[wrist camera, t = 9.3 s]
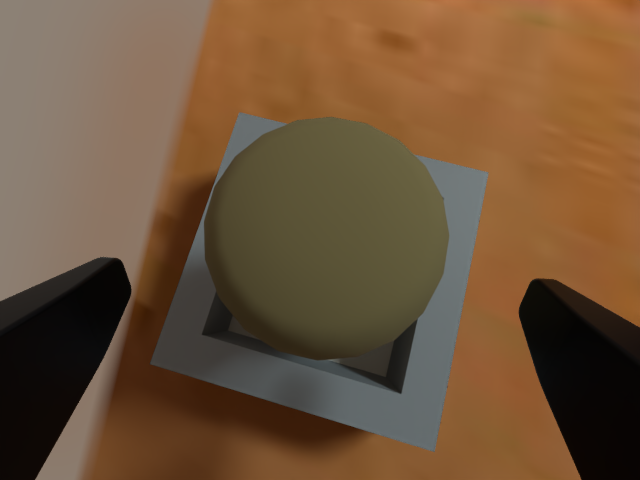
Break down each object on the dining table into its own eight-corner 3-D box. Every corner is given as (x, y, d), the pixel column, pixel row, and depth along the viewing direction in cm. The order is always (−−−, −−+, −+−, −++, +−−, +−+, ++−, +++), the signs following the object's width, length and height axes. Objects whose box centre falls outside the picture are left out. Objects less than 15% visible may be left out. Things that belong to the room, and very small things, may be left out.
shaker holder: (406, 414, 16) (434, 451, 12) (195, 351, 17) (149, 364, 13) (450, 206, 18) (488, 172, 14) (259, 158, 19) (239, 112, 15)
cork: (280, 358, 16) (183, 445, 5) (253, 234, 17) (130, 106, 7) (406, 325, 16) (555, 345, 6) (370, 204, 18) (436, 32, 7)
